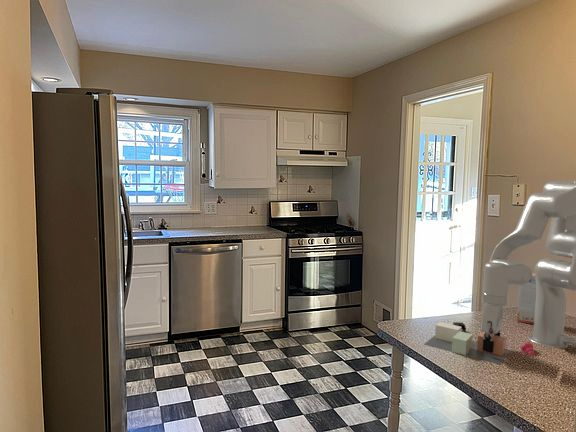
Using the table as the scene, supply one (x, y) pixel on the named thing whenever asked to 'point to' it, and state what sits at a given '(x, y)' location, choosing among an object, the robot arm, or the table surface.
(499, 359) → the baseplate
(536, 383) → the table surface
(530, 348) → the toy pieces
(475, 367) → the table surface
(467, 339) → the sage brick
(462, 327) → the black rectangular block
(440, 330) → the cream brick
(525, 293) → the cracker box
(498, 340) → the terracotta brick
